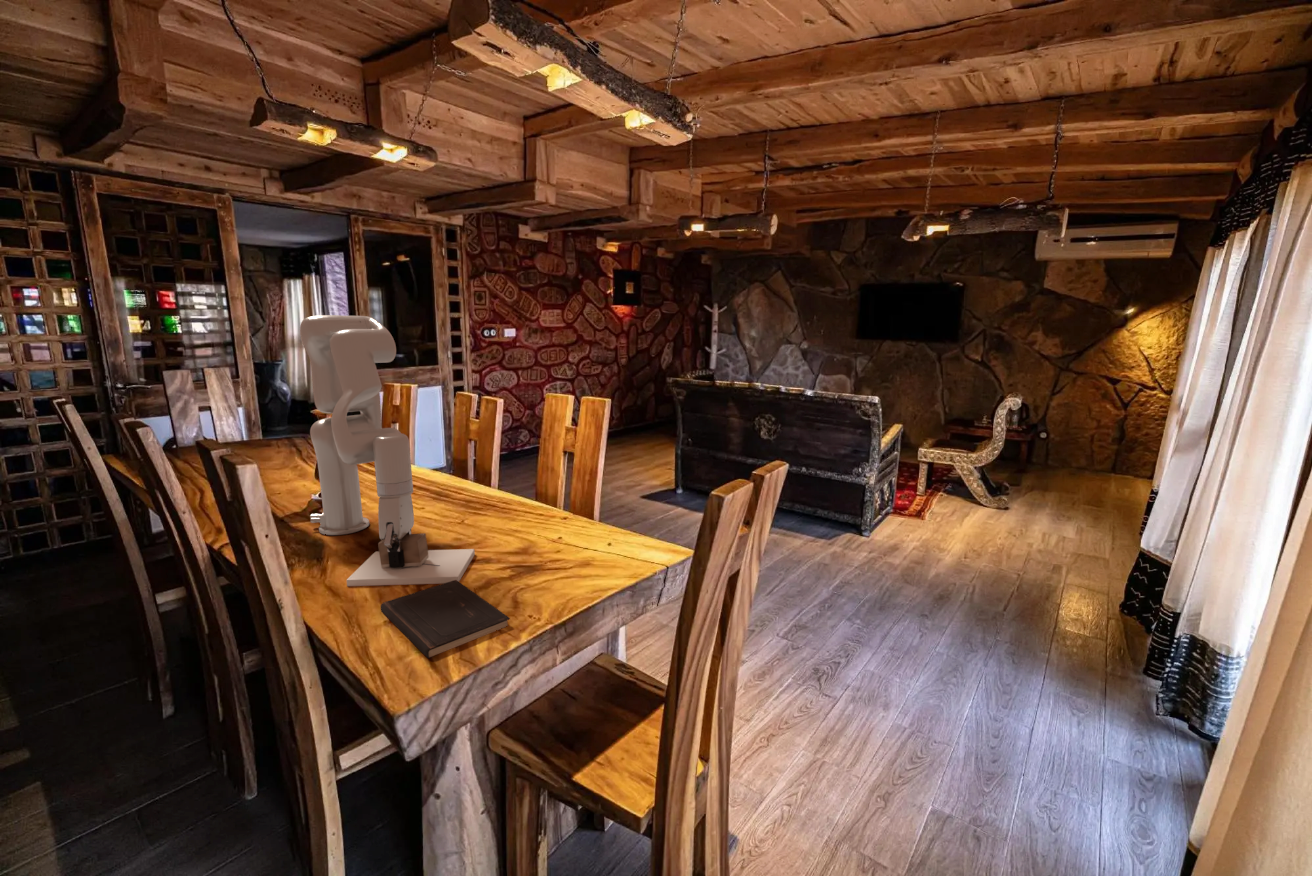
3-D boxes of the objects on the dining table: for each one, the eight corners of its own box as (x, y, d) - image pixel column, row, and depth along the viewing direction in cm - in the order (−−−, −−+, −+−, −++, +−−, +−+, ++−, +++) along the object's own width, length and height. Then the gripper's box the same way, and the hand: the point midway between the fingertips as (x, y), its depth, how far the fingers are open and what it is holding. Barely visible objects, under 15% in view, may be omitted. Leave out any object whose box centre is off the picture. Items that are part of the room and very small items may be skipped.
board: (347, 586, 126) (346, 579, 126) (375, 557, 142) (375, 551, 141) (458, 582, 128) (457, 576, 128) (474, 554, 144) (474, 548, 143)
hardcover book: (456, 589, 126) (456, 579, 126) (510, 628, 110) (509, 617, 110) (381, 613, 115) (380, 603, 115) (428, 661, 99) (427, 649, 99)
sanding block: (381, 567, 132) (377, 543, 130) (390, 559, 137) (387, 535, 135) (420, 565, 132) (417, 541, 131) (428, 557, 137) (425, 533, 136)
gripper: (391, 477, 139) (397, 548, 142) (362, 498, 122) (370, 578, 125) (423, 477, 139) (428, 547, 143) (398, 498, 123) (405, 576, 126)
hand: (401, 560), depth 134 cm, fingers closed on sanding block, 5 cm apart
